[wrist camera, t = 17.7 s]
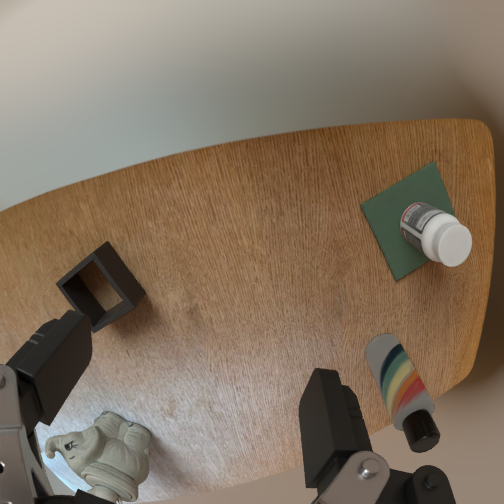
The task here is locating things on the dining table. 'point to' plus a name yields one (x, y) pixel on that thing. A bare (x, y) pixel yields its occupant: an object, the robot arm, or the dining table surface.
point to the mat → (392, 208)
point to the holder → (117, 278)
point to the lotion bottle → (403, 392)
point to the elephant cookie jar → (107, 456)
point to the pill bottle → (436, 234)
